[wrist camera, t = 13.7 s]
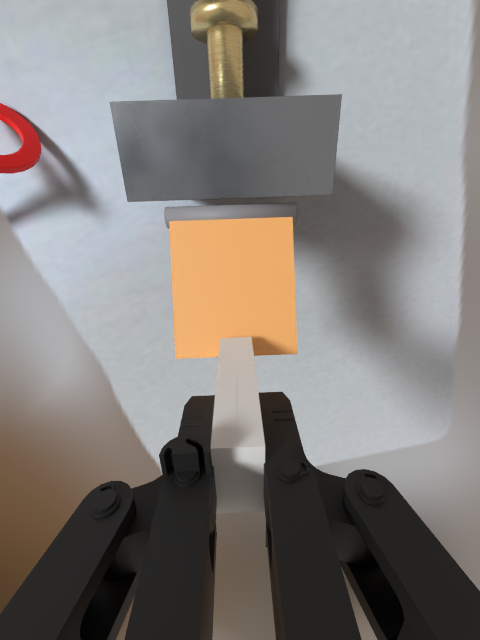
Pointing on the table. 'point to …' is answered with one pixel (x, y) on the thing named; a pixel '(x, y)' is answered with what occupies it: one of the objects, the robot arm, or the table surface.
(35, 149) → the tow hook
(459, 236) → the table surface
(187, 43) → the mat
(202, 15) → the gold metal bolt
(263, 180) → the grey rectangular plate
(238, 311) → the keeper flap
